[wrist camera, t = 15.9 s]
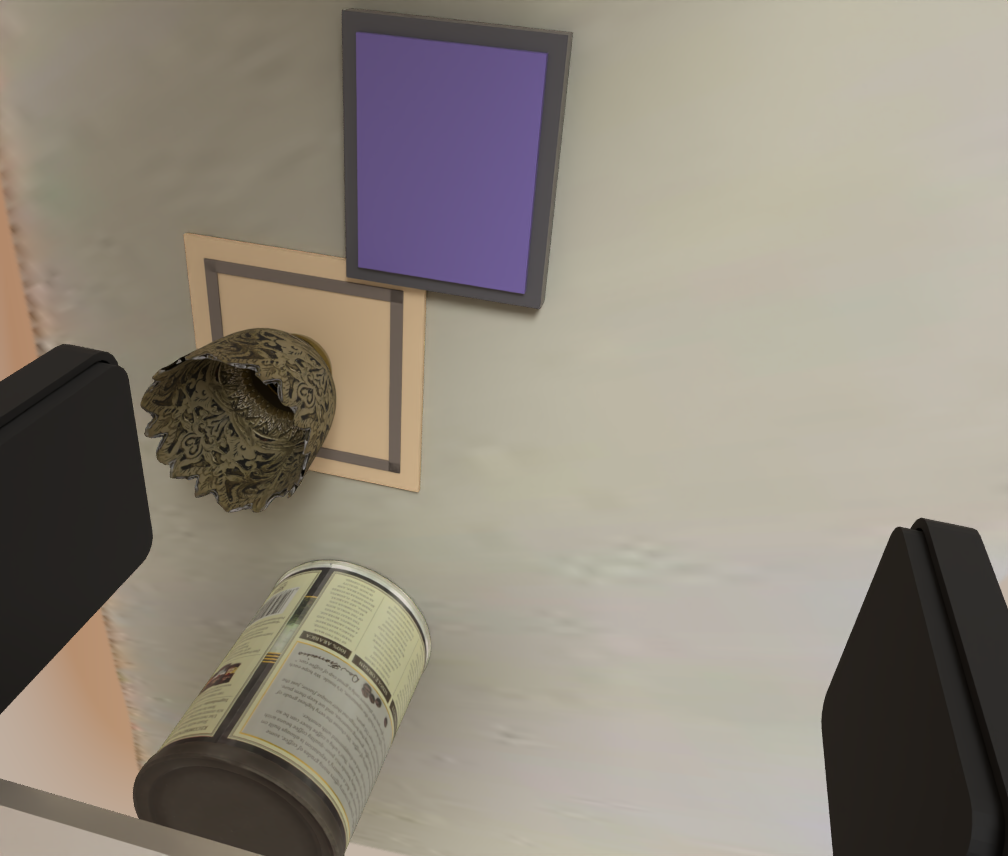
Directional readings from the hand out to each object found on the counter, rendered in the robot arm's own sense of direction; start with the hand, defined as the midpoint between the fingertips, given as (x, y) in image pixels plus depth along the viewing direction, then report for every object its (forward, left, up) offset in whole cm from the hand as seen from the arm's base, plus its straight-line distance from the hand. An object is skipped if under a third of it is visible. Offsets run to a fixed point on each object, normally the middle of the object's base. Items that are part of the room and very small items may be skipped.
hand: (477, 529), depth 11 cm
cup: (+13, -16, -28) cm, 34 cm away
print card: (+14, -15, -28) cm, 35 cm away
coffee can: (+31, -13, -28) cm, 44 cm away
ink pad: (+3, -8, -28) cm, 29 cm away
